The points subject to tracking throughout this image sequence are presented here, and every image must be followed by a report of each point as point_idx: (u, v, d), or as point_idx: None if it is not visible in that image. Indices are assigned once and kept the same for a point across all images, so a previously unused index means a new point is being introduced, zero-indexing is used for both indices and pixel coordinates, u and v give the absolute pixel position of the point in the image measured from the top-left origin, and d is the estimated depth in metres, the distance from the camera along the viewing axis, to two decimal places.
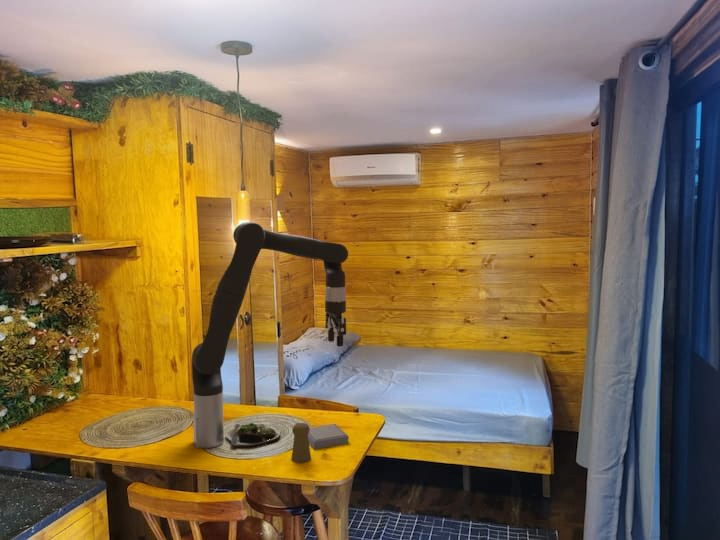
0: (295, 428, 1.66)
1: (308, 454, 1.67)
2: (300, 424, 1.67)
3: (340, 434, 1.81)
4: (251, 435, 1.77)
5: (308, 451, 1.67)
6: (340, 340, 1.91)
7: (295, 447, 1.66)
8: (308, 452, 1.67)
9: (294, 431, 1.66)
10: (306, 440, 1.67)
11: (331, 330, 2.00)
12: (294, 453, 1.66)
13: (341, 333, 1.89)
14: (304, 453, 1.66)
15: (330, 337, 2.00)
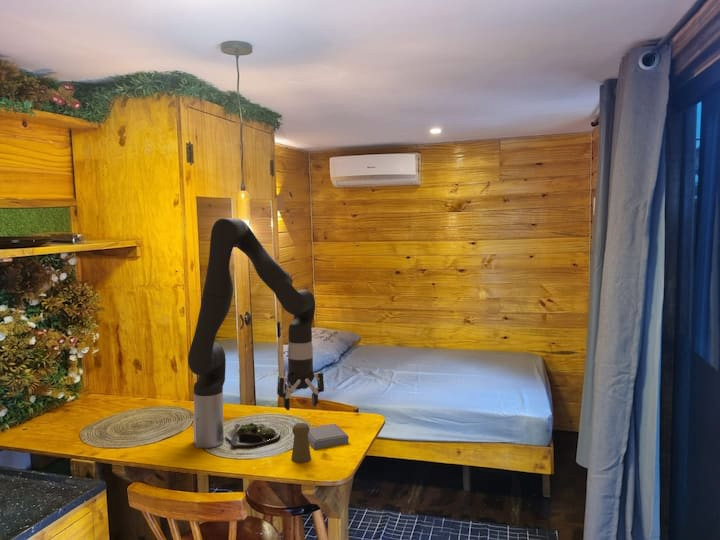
0: (295, 428, 1.66)
1: (308, 454, 1.67)
2: (300, 424, 1.67)
3: (340, 434, 1.81)
4: (251, 435, 1.77)
5: (308, 451, 1.67)
6: None
7: (295, 447, 1.66)
8: (308, 452, 1.67)
9: (294, 431, 1.66)
10: (306, 440, 1.67)
11: None
12: (294, 453, 1.66)
13: None
14: (304, 453, 1.66)
15: None
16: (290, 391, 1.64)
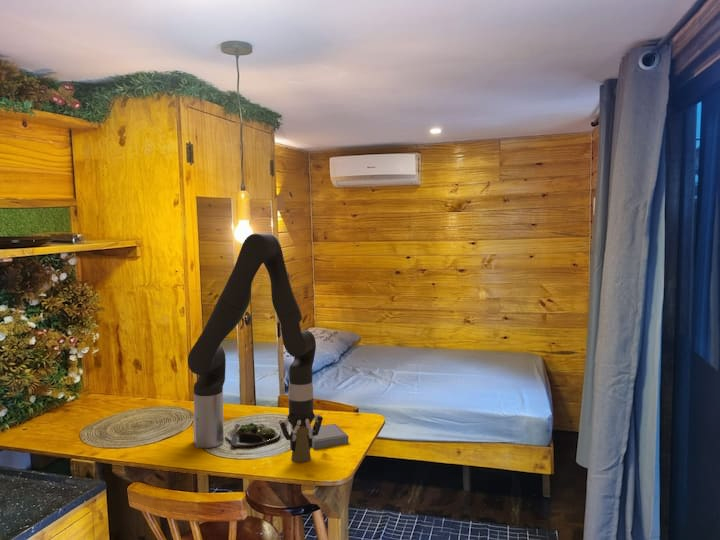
0: None
1: (308, 454, 1.67)
2: None
3: (340, 434, 1.81)
4: (251, 435, 1.77)
5: (308, 451, 1.67)
6: None
7: None
8: (308, 452, 1.67)
9: None
10: (306, 440, 1.67)
11: None
12: (294, 453, 1.66)
13: None
14: (304, 453, 1.66)
15: None
16: (295, 433, 1.65)
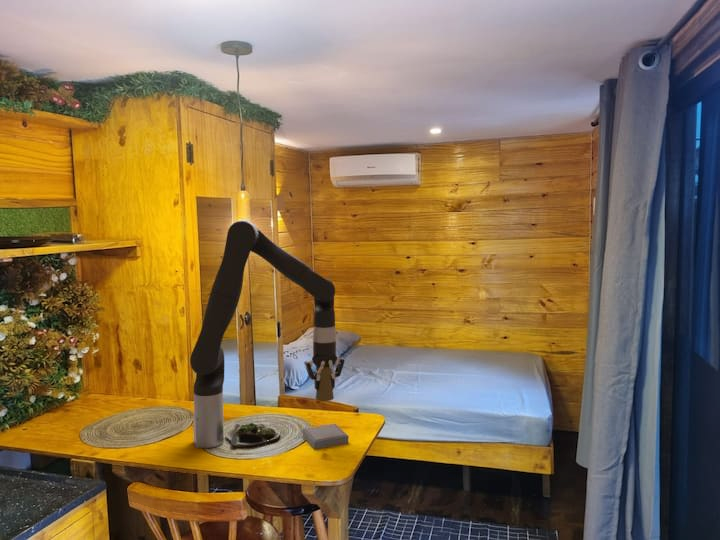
0: None
1: (331, 393, 1.80)
2: None
3: (340, 434, 1.81)
4: (251, 435, 1.77)
5: (331, 390, 1.80)
6: None
7: (319, 386, 1.79)
8: (331, 391, 1.80)
9: None
10: (329, 380, 1.80)
11: None
12: (318, 392, 1.79)
13: None
14: (327, 392, 1.79)
15: None
16: (319, 373, 1.78)
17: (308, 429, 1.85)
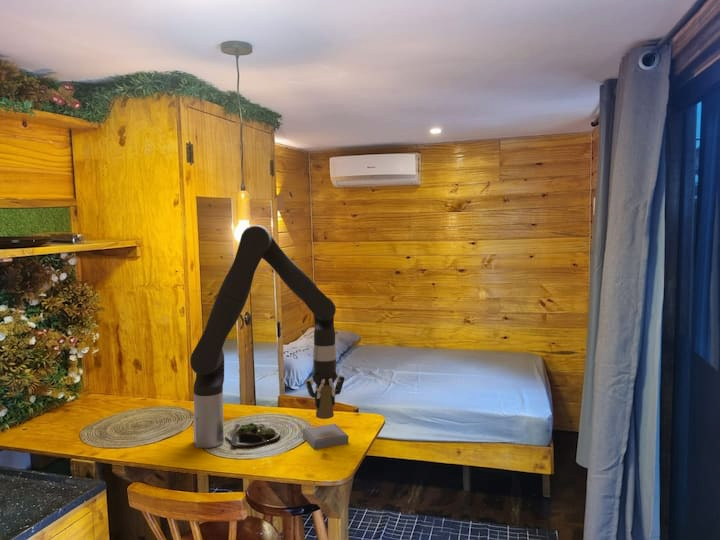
0: None
1: (331, 411, 1.81)
2: None
3: (340, 434, 1.81)
4: (251, 435, 1.77)
5: (331, 408, 1.81)
6: None
7: None
8: (331, 409, 1.81)
9: None
10: (329, 398, 1.81)
11: None
12: (318, 410, 1.80)
13: None
14: (327, 409, 1.80)
15: None
16: (319, 391, 1.79)
17: (308, 429, 1.85)
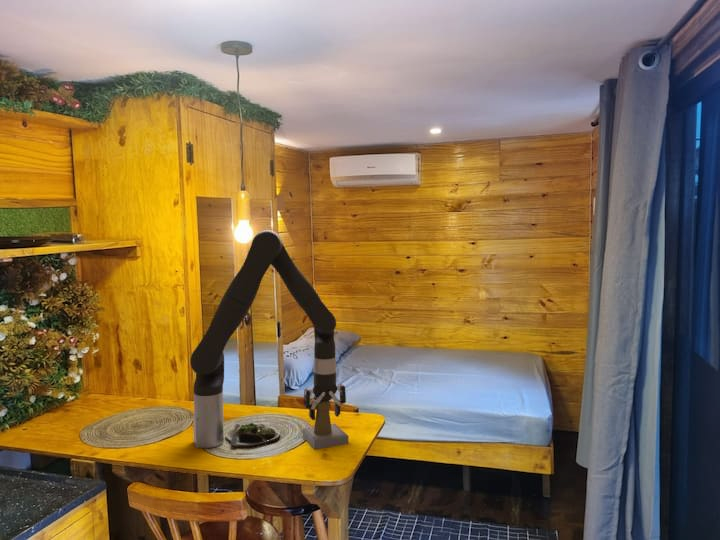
0: None
1: (329, 427, 1.81)
2: None
3: (340, 434, 1.81)
4: (251, 435, 1.77)
5: (329, 425, 1.81)
6: None
7: (317, 421, 1.81)
8: (329, 426, 1.81)
9: (316, 406, 1.80)
10: (327, 414, 1.81)
11: None
12: (316, 426, 1.81)
13: None
14: (325, 426, 1.80)
15: None
16: (315, 403, 1.79)
17: (308, 429, 1.85)
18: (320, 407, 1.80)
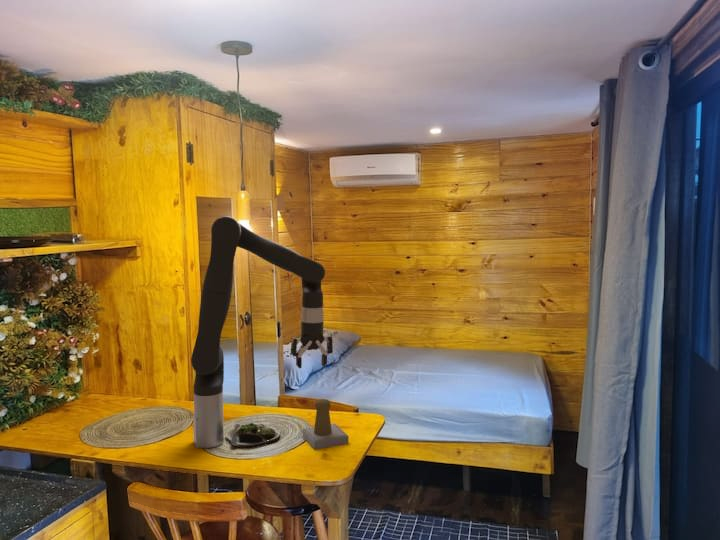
0: (317, 403, 1.80)
1: (329, 427, 1.81)
2: (322, 400, 1.82)
3: (340, 434, 1.81)
4: (251, 435, 1.77)
5: (329, 425, 1.81)
6: None
7: (317, 421, 1.81)
8: (329, 426, 1.81)
9: (316, 406, 1.80)
10: (327, 414, 1.81)
11: None
12: (316, 426, 1.81)
13: None
14: (325, 426, 1.80)
15: None
16: (302, 351, 1.83)
17: (308, 429, 1.85)
18: (320, 407, 1.80)
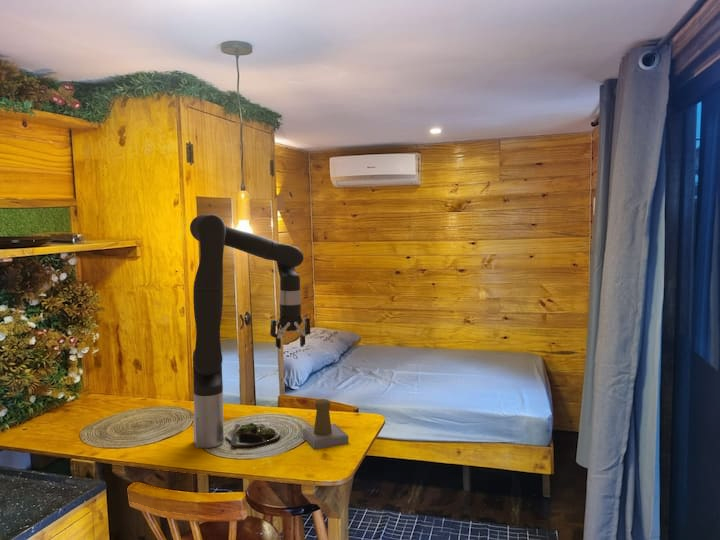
0: (317, 403, 1.80)
1: (329, 427, 1.81)
2: (322, 400, 1.82)
3: (340, 434, 1.81)
4: (251, 435, 1.77)
5: (329, 425, 1.81)
6: None
7: (317, 421, 1.81)
8: (329, 426, 1.81)
9: (316, 406, 1.80)
10: (327, 414, 1.81)
11: None
12: (316, 426, 1.81)
13: None
14: (325, 426, 1.80)
15: None
16: (281, 332, 1.92)
17: (308, 429, 1.85)
18: (320, 407, 1.80)
